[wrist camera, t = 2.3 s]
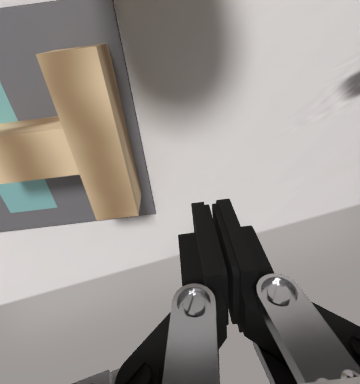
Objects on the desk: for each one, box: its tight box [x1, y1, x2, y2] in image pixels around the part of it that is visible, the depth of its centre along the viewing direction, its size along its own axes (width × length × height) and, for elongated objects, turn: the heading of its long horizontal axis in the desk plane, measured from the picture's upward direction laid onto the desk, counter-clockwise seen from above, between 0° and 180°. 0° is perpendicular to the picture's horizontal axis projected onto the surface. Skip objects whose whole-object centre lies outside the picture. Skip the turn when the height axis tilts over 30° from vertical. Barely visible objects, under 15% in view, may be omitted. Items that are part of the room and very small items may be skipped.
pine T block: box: [0, 43, 142, 220], centre depth 22 cm, size 12×14×4 cm
